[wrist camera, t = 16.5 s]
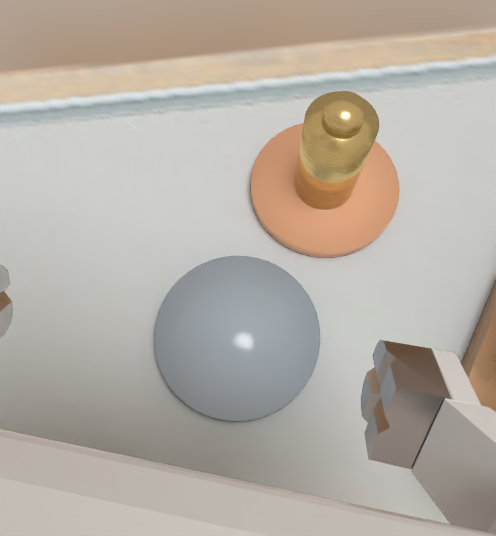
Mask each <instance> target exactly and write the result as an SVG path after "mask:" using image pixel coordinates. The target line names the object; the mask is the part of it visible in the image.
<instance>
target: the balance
mask: <svg viewBox="0 0 496 536" xmlns="http://www.w3.org/2000/svg"><path fill="white" fill-rule="evenodd" d="M461 365H462V367H463V369H464V371H465V373H466V375H467V377H468V379H469V381H470V383H471V385H472V387H473V389H474V391H475V393H476V395H477V397H478V399H479V401H480V404H481V406H486V407H490V408H491V409H492V410H494V411H495V412H496V281H495V284H494V286H493V288H492V291H491V293H490V296H489V298H488V301H487V303H486V306H485V308H484V310H483V313H482V315H481V318H480V320H479V323H478V325H477V327H476V330H475V332H474V335H473V337H472V340H471V342H470V345H469V347H468V349H467V352H466V354H465V357H464V359H463V362H462V364H461Z"/></svg>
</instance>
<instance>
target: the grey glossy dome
mask: <svg viewBox="0 0 496 536" xmlns="http://www.w3.org/2000/svg"><path fill="white" fill-rule="evenodd" d="M154 346H155V354H156V358H157V362H158V366H159V368H160V371H161V373H162V375H163V377H164V379H165V381H166V382H167V384H168V386H169V387H170V388H171V389H172V391H173V392H174V393H175V394H176V395H177V396H178V397H179V398H180V399H181V400H182V401H183V402H184V403H185V404H187V405H188V406H190V407H191V408H193V409H194V410H196V411H198V412H200V413H202V414H204V415H207V416H210V417H213V418H216V419H221V420H226V421H247V420H253V419H257V418H261V417H264V416H266V415H269V414H271V413H273V412H275V411H277V410H279V409H281V408H282V407H283V406H285V405H286V404H287V403H289V402H290V401H291V400H292V399H293V398H294V397H295V396H297V395H298V394H299V392H300V391H301V390H302V389H303V387H304V386H305V385H306V383H307V381H308V380H309V378H310V376H311V374H312V372H313V370H314V368H315V365H316V362H317V358H318V354H319V347H320V328H319V321H318V317H317V314H316V311H315V308H314V306H313V303H312V301H311V299H310V298H309V296H308V294H307V292H306V291H305V290H304V288H303V287H302V286H301V284H300V283H299V282H298V281H297V280H296V279H295V278H294V277H293V276H291V275H290V274H289V273H288V272H286V271H285V270H283V269H282V268H280V267H278V266H277V265H275V264H272V263H270V262H268V261H265V260H262V259H258V258H253V257H248V256H229V257H223V258H217V259H214V260H211V261H208V262H206V263H203V264H201V265H199V266H197V267H196V268H194V269H192V270H191V271H189V272H188V273H187V274H186V275H184V276H183V277H182V278H181V279H180V280H179V281H178V282H177V283H176V284H175V285H174V286H173V287H172V289H171V290H170V291H169V293H168V294H167V296H166V298H165V300H164V301H163V303H162V305H161V308H160V310H159V313H158V316H157V320H156V325H155V332H154Z"/></svg>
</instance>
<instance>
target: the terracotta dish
mask: <svg viewBox="0 0 496 536" xmlns="http://www.w3.org/2000/svg"><path fill="white" fill-rule="evenodd" d="M303 126H304V123H302V124H299V125H295V126H293V127H290V128H288V129H286V130H284V131H282V132H281V133H279V134H277V135H276V136H275V137H274V138H272V139H271V140H270V141H269V142H268V143H267V144H266V145H265V146H264V148H263V149H262V150H261V152H260V153H259V155H258V157H257V159H256V161H255V164H254V166H253V171H252V175H251V197H252V203H253V208H254V210H255V213H256V216H257V218H258V219H259V221H260V223H261V224H262V226H263V227H264V228H265V230H266V231H267V232H268V233H269V234H270V235H271V236H272V237H273V238H274V239H275V240H276V241H278V242H279V243H280V244H282V245H284V246H285V247H287V248H289V249H291V250H293V251H295V252H298V253H301V254H304V255H307V256H313V257H322V258H331V257H340V256H345V255H348V254H351V253H354V252H357V251H359V250H361V249H363V248H365V247H366V246H368V245H369V244H371V243H372V242H373V241H374V240H375V239H376V238H378V237H379V235H380V234H381V233H382V232H383V231H384V229H385V228H386V226H387V225H388V223H389V222H390V220H391V218H392V217H393V215H394V212H395V210H396V207H397V203H398V199H399V181H398V176H397V172H396V169H395V167H394V164H393V163H392V161H391V159H390V157H389V156H388V154H387V153H386V151H385V150H384V149H383V148H382V147H381V146H380V145H379V144H378V143H377V142H376V141H375V140H374V143H373V145H372V147H371V150H370V152H369V154H368V157H367V159H366V161H365V164H364V166H363V168H362V171H361V173H360V175H359V178H358V180H357V182H356V185H355V187H354V189H353V192H352V194H351V196H350V198H349V199H348V200H347V202H345V203H344V204H343V205H341V206H340V207H338V208H335V209H331V210H320V209H315V208H313V207H310V206H308V205H307V204H305V203H304V202H303V201H302V200H301V199H300V198H299V196H298V195H297V193H296V191H295V187H294V178H295V173H296V167H297V161H298V155H299V149H300V143H301V137H302V131H303Z"/></svg>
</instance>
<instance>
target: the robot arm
mask: <svg viewBox="0 0 496 536" xmlns="http://www.w3.org/2000/svg"><path fill="white" fill-rule="evenodd" d="M9 285H10V280H9V273H8V270H7V269H6V268H5V267H4V266H3V265H0V338H1V337H2V336H3V335H4V334H5V333H6V331H7V329H8V327H9V325H10V323H11V319H12V313H13V308H12V301H11V300H10V298H9V297H8V296H7V294H6V293H5V292H4V291H5V290H6V289H7V287H8V286H9ZM373 360H374V365H375V367H374V368H373V369H371V370H370V371H368V372H367V374H366V377H365V380H364V384H363V389H362V395H361V411H362V417H363V418H364V419H365V420H366V421H367V422H368V425H367V427H366V430H365V439H366V446H367V452H368V459H370V460H374V461H378V462H382V463H387V464H391V465H395V466H399V467H404V468H408V469H412V471H411V472H412V473H413V474H414V476H415V477H416V478H417V480H418V481H419V482H420V484H421V485H422V486H423V488H424V489H425V490H426V492H427V493H428V494H429V496H430V497H431V498H432V500H433V501H434V502H435V504H436V505H437V507H438V508H439V509H440V511H441V512H442V513H443V515H444V516H445V517H446V519H447V520H448V521H449V523H450V524H446V523H441V522H436V521H432V520H427V519H422V518H418V517H413V516H408V515H403V514H398V513H394V512H389V511H384V510H379V509H374V508H370V507H365V506H360V505H356V504H351V503H346V502H342V501H337V500H332V499H328V498H323V497H318V496H314V495H309V494H304V493H300V492H295V491H290V490H286V489H281V488H276V487H271V486H267V485H262V484H257V483H253V482H248V481H243V480H239V479H234V478H229V477H225V476H220V475H215V474H211V473H206V472H201V471H197V470H192V469H187V468H183V467H178V466H173V465H169V464H164V463H159V462H154V461H150V460H145V459H140V458H135V457H131V456H126V455H121V454H116V453H112V452H107V451H102V450H98V449H93V448H88V447H83V446H79V445H74V444H69V443H64V442H60V441H55V440H50V439H45V438H41V437H36V436H31V435H26V434H22V433H17V432H12V431H8V430H3V429H0V536H496V412H495V411H494V410H492V409H491V408H490V407H486V406H481V404H480V401H479V399H478V397H477V395H476V393H475V391H474V389H473V387H472V385H471V383H470V381H469V379H468V377H467V375H466V373H465V371H464V369H463V367H462V365H461V363H460V361H459V359H458V357H457V355H456V354H455V353H453V352H450V351H444V350H438V349H431V348H425V347H419V346H413V345H407V344H401V343H395V342H389V341H383V340H379V342H378V344H377V345H376V348H375V351H374V353H373Z"/></svg>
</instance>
